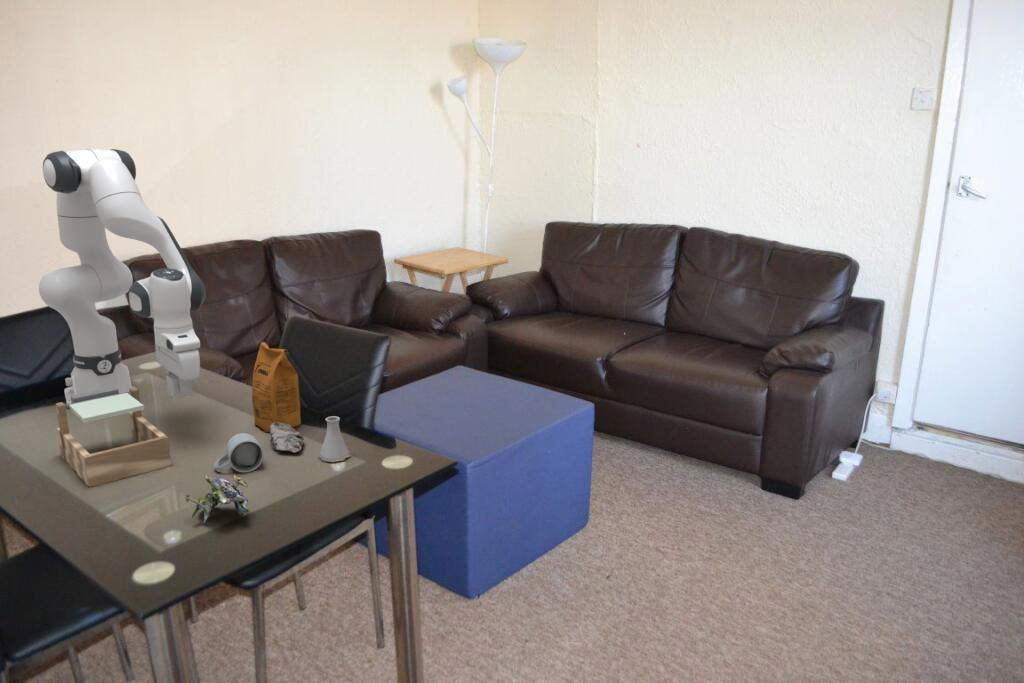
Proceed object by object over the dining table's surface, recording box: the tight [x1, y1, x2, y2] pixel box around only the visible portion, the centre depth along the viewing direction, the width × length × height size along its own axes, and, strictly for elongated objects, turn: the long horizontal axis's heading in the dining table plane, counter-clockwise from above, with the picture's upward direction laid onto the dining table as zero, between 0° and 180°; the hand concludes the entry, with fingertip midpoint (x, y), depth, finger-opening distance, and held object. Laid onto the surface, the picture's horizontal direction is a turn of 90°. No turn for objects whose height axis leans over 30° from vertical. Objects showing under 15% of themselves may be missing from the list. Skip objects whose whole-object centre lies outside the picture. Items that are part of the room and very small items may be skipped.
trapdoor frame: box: [55, 386, 172, 488], centre depth 192 cm, size 23×18×14 cm
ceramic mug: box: [213, 432, 264, 473], centre depth 189 cm, size 11×8×8 cm
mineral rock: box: [269, 422, 304, 453], centre depth 203 cm, size 15×8×4 cm, turn 16°
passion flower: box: [184, 473, 249, 526], centre depth 165 cm, size 11×11×12 cm
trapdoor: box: [65, 387, 145, 424], centre depth 193 cm, size 16×14×3 cm
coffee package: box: [251, 341, 302, 433], centre depth 213 cm, size 10×12×22 cm
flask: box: [318, 415, 350, 460], centre depth 195 cm, size 7×7×10 cm
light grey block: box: [165, 373, 193, 400], centre depth 204 cm, size 4×4×5 cm
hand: (179, 388), depth 205 cm, fingers closed on light grey block, 4 cm apart
